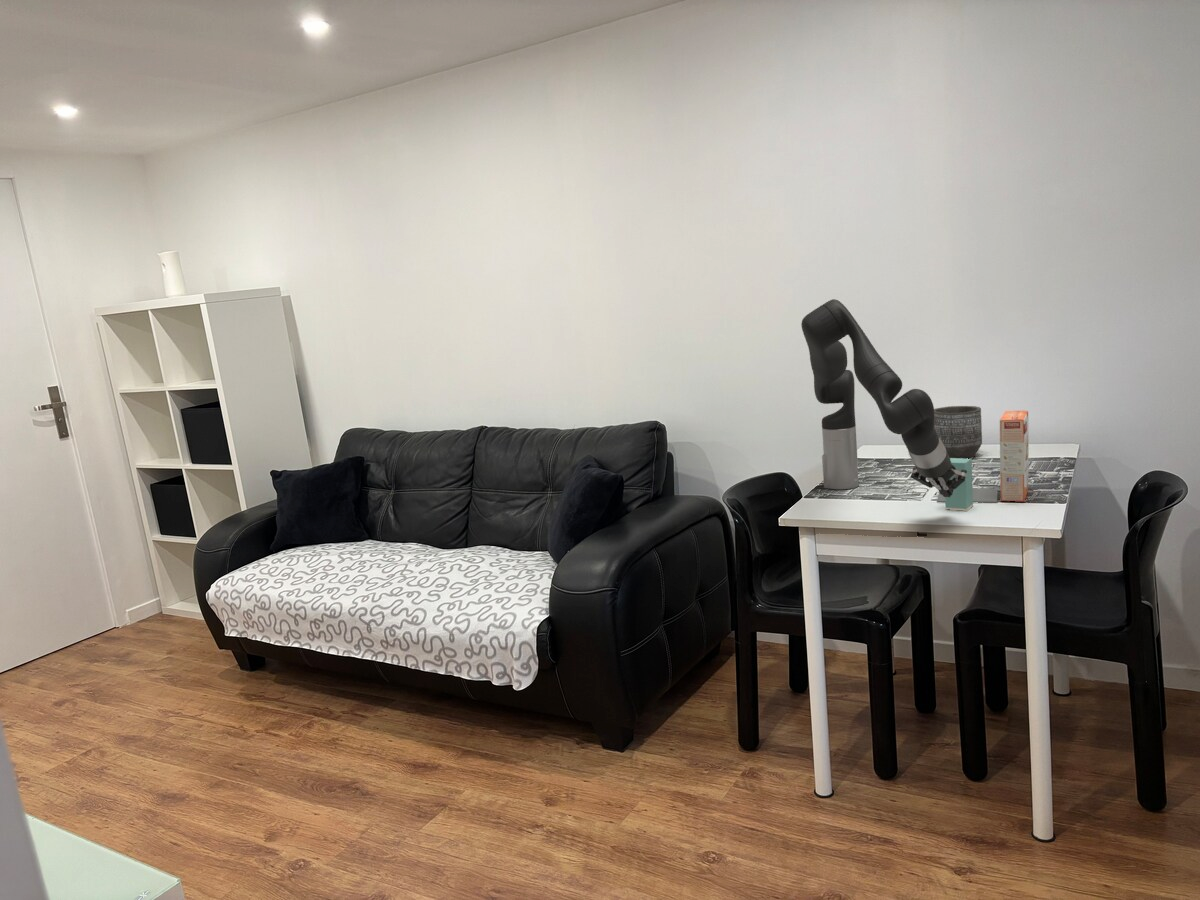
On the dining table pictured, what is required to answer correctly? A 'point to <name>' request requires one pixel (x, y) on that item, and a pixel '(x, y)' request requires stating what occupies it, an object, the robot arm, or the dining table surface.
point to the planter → (959, 430)
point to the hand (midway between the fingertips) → (948, 493)
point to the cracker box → (1014, 456)
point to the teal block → (961, 487)
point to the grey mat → (979, 496)
